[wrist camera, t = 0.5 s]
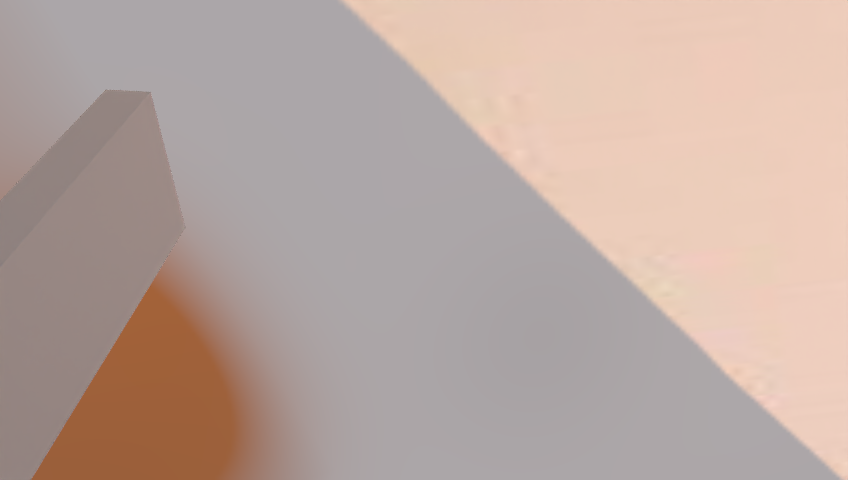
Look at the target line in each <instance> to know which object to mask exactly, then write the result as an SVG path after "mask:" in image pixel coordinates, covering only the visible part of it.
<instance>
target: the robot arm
mask: <svg viewBox="0 0 848 480" xmlns="http://www.w3.org/2000/svg"><path fill="white" fill-rule="evenodd" d="M184 229H185V224H184V220H183V216H182V212H181V208H180V204H179V201H178V197H177V193H176V189H175V185H174V181H173V177H172V174H171V170H170V166H169V162H168V158H167V154H166V150H165V146H164V143H163V139H162V135H161V131H160V128H159V123H158V119H157V116H156V111H155V108H154V104H153V100H152V96H151V92H141V91H121V90H105V91H104V92H103V93H102V94H101V95H100V96H99V98H98V99H97V100H96V101H95V102H94V103H93V104H92V105H91V106H90V107H89V108H88V109H87V110H86V111H85V112H84V113H83V114H82V115H81V116H80V118H79V119H78V120H77V121H76V122H75V123H74V124H73V125H72V126H71V127H70V128H69V129H68V130H67V131H66V132H65V133H64V134H63V135H62V136H61V137H60V138H59V140H58V141H57V142H56V143H55V144H54V145H53V146H52V147H51V148H50V149H49V150H48V151H47V152H46V153H45V154H44V155H43V156H42V158H40V160H39V161H38V162H37V163H36V164H35V165H34V166H33V167H32V168H31V169H30V170H29V171H28V172H27V173H26V174H25V176H23V177H22V178H21V180H20V181H19V182H18V183H17V184H16V185H15V186H14V187H13V188H12V189H11V190H10V191H9V192H8V193H7V194H6V195H5V196H4V197H3V198H2V199H1V200H0V480H31V479H32V477H33V475H34V474H35V472H36V470H37V469H38V467H39V465H40V464H41V462H42V461H43V459H44V457H45V456H46V454H47V452H48V451H49V449H50V448H51V446H52V444H53V443H54V441H55V440H56V438H57V436H58V434H59V433H60V431H61V430H62V428H63V426H64V425H65V423H66V422H67V420H68V418H69V417H70V415H71V413H72V412H73V410H74V408H75V407H76V405H77V404H78V402H79V400H80V398H81V397H82V395H83V394H84V392H85V390H86V389H87V387H88V386H89V384H90V382H91V381H92V379H93V378H94V376H95V374H96V373H97V371H98V369H99V368H100V366H101V364H102V363H103V361H104V359H105V358H106V356H107V355H108V353H109V351H110V350H111V348H112V347H113V345H114V343H115V342H116V340H117V338H118V337H119V335H120V334H121V332H122V330H123V329H124V327H125V325H126V324H127V322H128V320H129V319H130V317H131V316H132V314H133V312H134V310H135V309H136V307H137V305H138V304H139V303H140V301H141V299H142V298H143V296H144V294H145V293H146V291H147V289H148V288H149V286H150V285H151V283H152V281H153V280H154V278H155V276H156V275H157V273H158V272H159V270H160V268H161V267H162V265H163V263H164V262H165V260H166V258H167V257H168V255H169V253H170V252H171V250H172V249H173V247H174V245H175V244H176V242H177V240H178V239H179V237H180V236H181V234H182V232H183V231H184Z"/></svg>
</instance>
